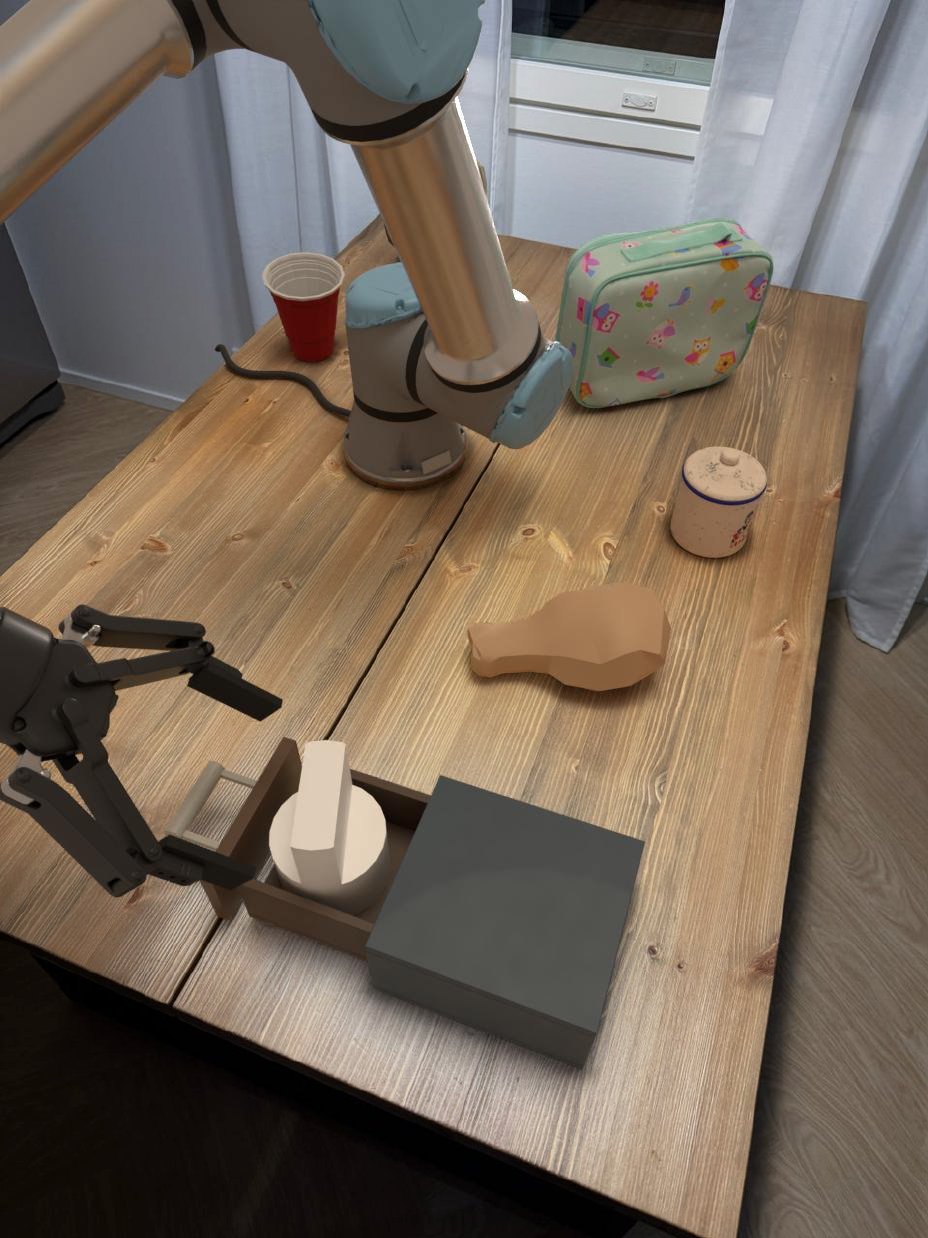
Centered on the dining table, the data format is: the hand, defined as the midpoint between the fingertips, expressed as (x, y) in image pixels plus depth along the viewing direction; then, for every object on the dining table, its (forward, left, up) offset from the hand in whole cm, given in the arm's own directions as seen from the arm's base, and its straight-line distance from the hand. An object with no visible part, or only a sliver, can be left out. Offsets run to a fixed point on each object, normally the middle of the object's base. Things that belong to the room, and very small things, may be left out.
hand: (259, 789), depth 64 cm
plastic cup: (-56, +56, -15) cm, 81 cm away
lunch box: (-16, +81, -15) cm, 84 cm away
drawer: (+1, +2, -14) cm, 14 cm away
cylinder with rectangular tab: (+3, +3, -13) cm, 13 cm away
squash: (+5, +34, -15) cm, 37 cm away
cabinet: (+17, +8, -15) cm, 24 cm away
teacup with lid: (+5, +61, -15) cm, 63 cm away
